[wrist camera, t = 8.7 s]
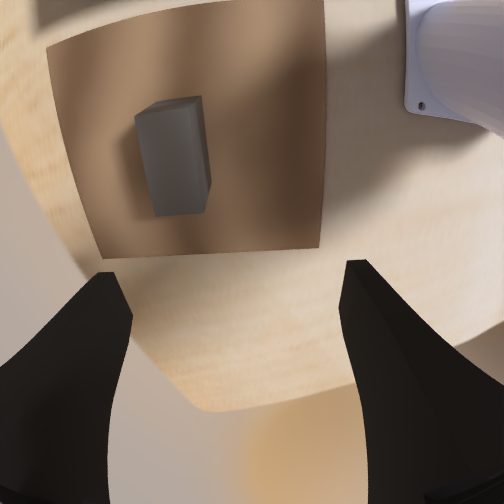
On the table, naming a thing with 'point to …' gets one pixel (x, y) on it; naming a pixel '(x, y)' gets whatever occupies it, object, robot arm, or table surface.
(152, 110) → the lid
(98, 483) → the robot arm
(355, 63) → the table surface
